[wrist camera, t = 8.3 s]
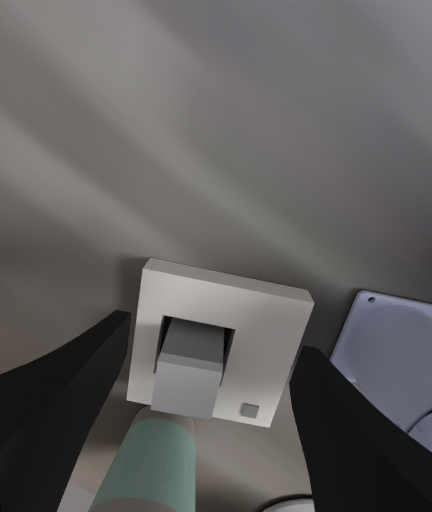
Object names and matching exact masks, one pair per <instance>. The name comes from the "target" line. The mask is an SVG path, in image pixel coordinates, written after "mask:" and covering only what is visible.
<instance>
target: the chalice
mask: <svg viewBox="0 0 432 512" xmlns="http://www.w3.org/2000/svg"><path fill="white" fill-rule="evenodd" d="M263 512H315V509H314V503H313V499H295V500H289V501H285V502H281V503H278V504H275V505H273V506H271V507H269V508H267V509H265V510H264V511H263Z"/></svg>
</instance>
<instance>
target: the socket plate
mask: <svg viewBox="0 0 432 512" xmlns="http://www.w3.org/2000/svg"><path fill="white" fill-rule="evenodd" d="M314 304H315V303H314V301H313V299H312V297H311V295H310V293H309V292H308V290H305V289H300V288H295V287H290V286H285V285H280V284H276V283H271V282H266V281H261V280H256V279H251V278H246V277H241V276H236V275H232V274H227V273H222V272H217V271H212V270H207V269H202V268H197V267H192V266H187V265H183V264H178V263H173V262H168V261H163V260H158V259H153V258H150V259H149V260H148V262H147V263H146V265H145V266H144V267H143V271H142V279H141V287H140V295H139V303H138V311H137V319H136V327H135V335H134V343H133V351H132V359H131V367H130V375H129V383H128V391H127V399H126V400H127V401H132V402H137V403H143V404H148V405H151V404H152V397H153V390H154V383H155V376H156V370H157V363H158V359H159V352H160V346H161V339H162V333H163V327H164V321H165V315H166V316H171V317H176V318H181V319H186V320H191V321H196V322H201V323H206V324H211V325H216V326H221V327H226V328H231V329H232V330H231V334H230V338H229V342H228V345H227V349H226V353H225V357H224V361H223V373H222V377H221V381H220V385H219V389H218V393H217V398H216V402H215V406H214V410H213V414H212V417H216V418H221V419H226V420H231V421H237V422H242V423H247V424H252V425H258V426H263V427H268V428H269V427H270V424H271V422H272V419H273V416H274V413H275V411H276V408H277V405H278V402H279V400H280V397H281V394H282V391H283V389H284V386H285V383H286V380H287V378H288V375H289V372H290V370H291V367H292V364H293V361H294V359H295V356H296V353H297V350H298V348H299V345H300V342H301V339H302V337H303V334H304V331H305V328H306V326H307V323H308V320H309V317H310V315H311V312H312V309H313V306H314Z"/></svg>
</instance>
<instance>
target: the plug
mask: <svg viewBox="0 0 432 512" xmlns="http://www.w3.org/2000/svg"><path fill="white" fill-rule="evenodd" d="M223 347H224V327H221V326H216V325H211V324H206V323H201V322H196V321H191V320H186V319H181V318H176V317H172V320H171V323H170V326H169V329H168V332H167V335H166V338H165V341H164V344H163V347H162V350H161V353H160V356H159V359H158V363H157V370H156V376H155V383H154V390H153V397H152V404H151V410H155V411H160V412H166V413H172V414H177V415H183V416H188V417H194V418H199V419H205V420H210V421H211V418H212V414H213V410H214V406H215V402H216V398H217V393H218V389H219V385H220V381H221V377H222V373H223Z"/></svg>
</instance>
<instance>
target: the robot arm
mask: <svg viewBox="0 0 432 512" xmlns="http://www.w3.org/2000/svg"><path fill="white" fill-rule="evenodd" d="M370 297H373V299H372V300H370V301H368V299H369V298H370ZM130 321H131V313H129V312H124V311H119V310H116V311H114V312H113V313H111V314H110V315H109V316H107V317H106V318H104V319H103V320H102V321H100V322H99V323H97V324H96V325H94V326H93V327H91V328H90V329H88V330H87V331H85V332H84V333H82V334H81V335H79V336H78V337H76V338H75V339H73V340H71V341H70V342H68V343H66V344H65V345H63V346H61V347H60V348H58V349H56V350H54V351H52V352H50V353H48V354H46V355H44V356H42V357H40V358H38V359H36V360H34V361H32V362H30V363H27V364H25V365H22V366H20V367H17V368H15V369H12V370H10V371H8V372H5V373H3V374H0V512H57V510H58V507H59V504H60V502H61V499H62V496H63V494H64V492H65V489H66V486H67V484H68V481H69V479H70V476H71V474H72V471H73V469H74V466H75V464H76V462H77V459H78V457H79V454H80V452H81V449H82V447H83V445H84V442H85V440H86V438H87V435H88V433H89V431H90V429H91V427H92V425H93V423H94V421H95V419H96V417H97V416H98V414H99V412H100V410H101V408H102V406H103V404H104V402H105V400H106V398H107V397H108V395H109V393H110V391H111V389H112V387H113V385H114V383H115V381H116V379H117V377H118V375H119V372H120V370H121V367H122V365H123V362H124V359H125V357H126V354H127V347H128V338H129V329H130ZM349 381H350V382H355V383H357V384H358V386H359V388H360V389H361V391H362V393H363V395H364V396H363V395H362V394H361V393H360V392H359V391H358V390H357V389H356V388H355V387H354V386H353V385H352V384H351V383H350V382H349ZM289 387H290V396H291V403H292V409H293V413H294V417H295V421H296V425H297V429H298V433H299V437H300V441H301V445H302V449H303V452H304V456H305V460H306V464H307V469H308V473H309V478H310V484H311V490H312V497H313V503H314V509H315V512H432V304H429V303H424V302H419V301H414V300H409V299H404V298H399V297H395V296H390V295H385V294H380V293H375V292H370V291H364V290H363V291H360V292H359V293H358V294H357V295H356V298H355V300H354V302H353V305H352V307H351V310H350V312H349V314H348V317H347V319H346V322H345V324H344V326H343V329H342V331H341V334H340V336H339V338H338V341H337V343H336V346H335V348H334V350H333V353H332V355H331V358H330V360H329V359H328V358H327V357H326V356H325V355H324V354H323V353H322V352H321V351H320V350H319V349H318V348H314V347H308V346H303V347H302V350H301V353H300V355H299V358H298V361H297V363H296V366H295V369H294V372H293V374H292V377H291V380H290V382H289Z"/></svg>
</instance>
